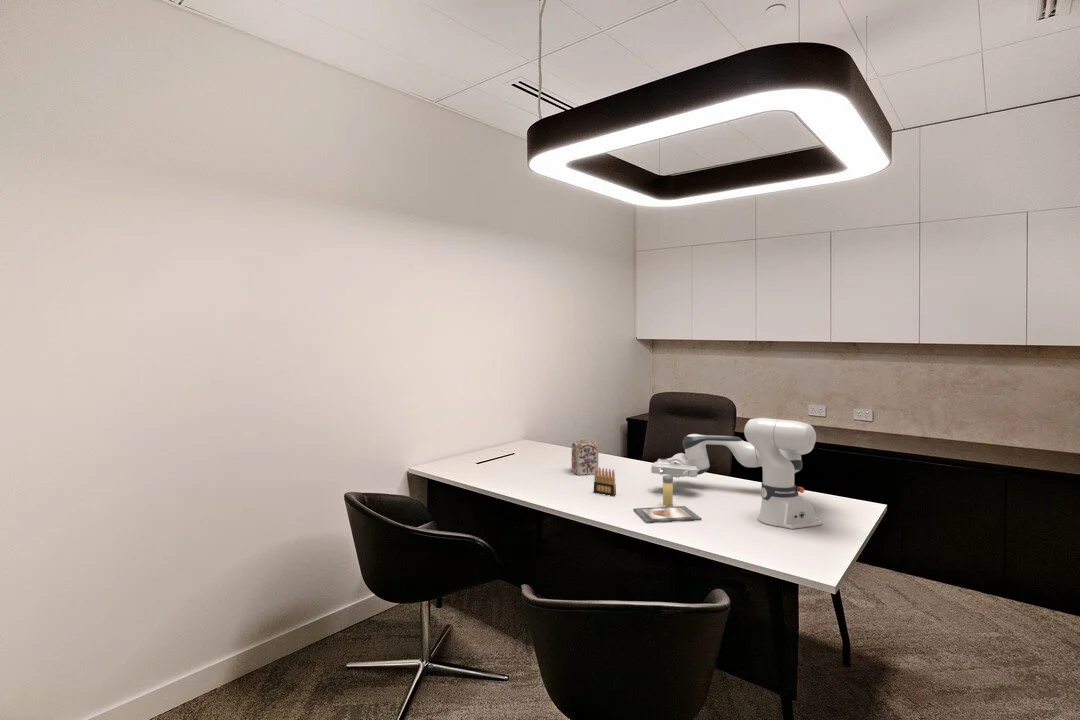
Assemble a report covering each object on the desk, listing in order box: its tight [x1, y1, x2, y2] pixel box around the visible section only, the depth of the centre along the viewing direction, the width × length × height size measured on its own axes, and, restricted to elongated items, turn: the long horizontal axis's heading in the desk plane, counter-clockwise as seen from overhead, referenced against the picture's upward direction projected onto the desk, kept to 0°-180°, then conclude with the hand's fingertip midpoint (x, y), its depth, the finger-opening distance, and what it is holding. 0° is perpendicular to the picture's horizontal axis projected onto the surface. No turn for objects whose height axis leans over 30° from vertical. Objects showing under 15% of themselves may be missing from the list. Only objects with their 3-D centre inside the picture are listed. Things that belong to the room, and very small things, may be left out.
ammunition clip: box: [593, 466, 617, 497], centre depth 248 cm, size 11×2×12 cm, turn 53°
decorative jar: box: [571, 437, 599, 476], centre depth 288 cm, size 12×12×18 cm
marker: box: [662, 475, 674, 507], centre depth 231 cm, size 4×4×12 cm
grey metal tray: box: [632, 505, 702, 524], centre depth 218 cm, size 22×16×1 cm
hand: (671, 473), depth 241 cm, fingers open, 8 cm apart
